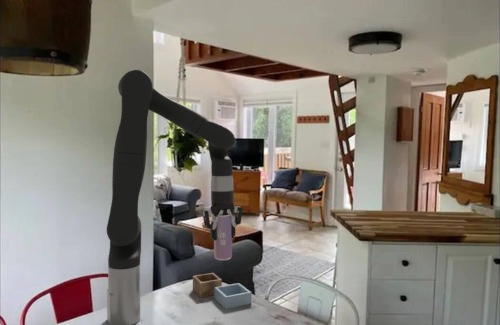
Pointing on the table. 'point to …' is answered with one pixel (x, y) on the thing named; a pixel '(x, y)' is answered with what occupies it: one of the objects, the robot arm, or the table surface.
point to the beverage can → (223, 238)
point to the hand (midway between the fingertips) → (223, 238)
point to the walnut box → (206, 284)
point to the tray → (232, 295)
